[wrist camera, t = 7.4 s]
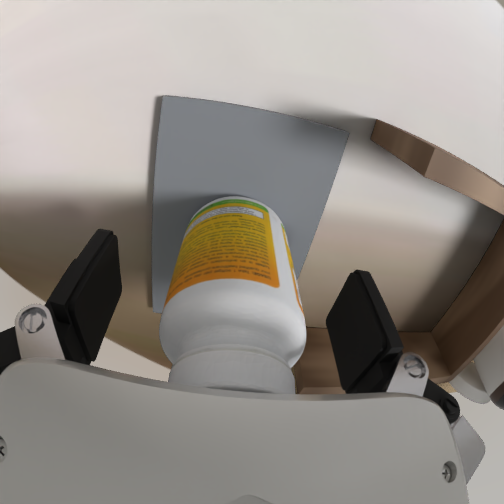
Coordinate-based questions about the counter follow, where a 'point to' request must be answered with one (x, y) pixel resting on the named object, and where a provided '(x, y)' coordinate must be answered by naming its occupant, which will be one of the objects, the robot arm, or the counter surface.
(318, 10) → the counter surface
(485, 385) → the spread jar
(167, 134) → the slate mat
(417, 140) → the open front box
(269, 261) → the supplement bottle
